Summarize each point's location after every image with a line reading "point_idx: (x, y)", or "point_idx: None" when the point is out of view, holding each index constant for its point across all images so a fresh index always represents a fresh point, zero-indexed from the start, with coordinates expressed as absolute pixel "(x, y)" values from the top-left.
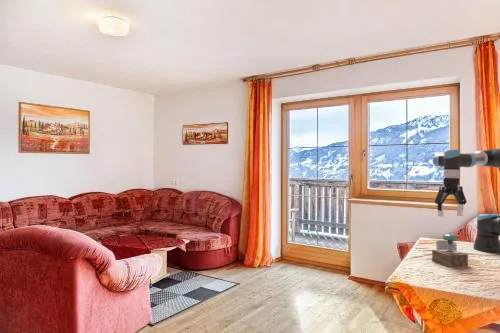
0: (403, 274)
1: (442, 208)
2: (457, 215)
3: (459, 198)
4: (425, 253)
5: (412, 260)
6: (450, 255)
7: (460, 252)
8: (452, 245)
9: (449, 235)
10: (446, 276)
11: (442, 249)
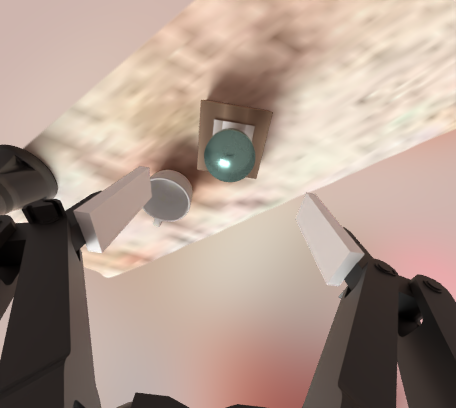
0: (441, 119)
1: (341, 229)
2: (151, 195)
3: (64, 282)
4: (209, 212)
5: (292, 188)
6: (269, 115)
7: (203, 127)
8: (169, 178)
9: (238, 155)
10: (374, 49)
11: None
